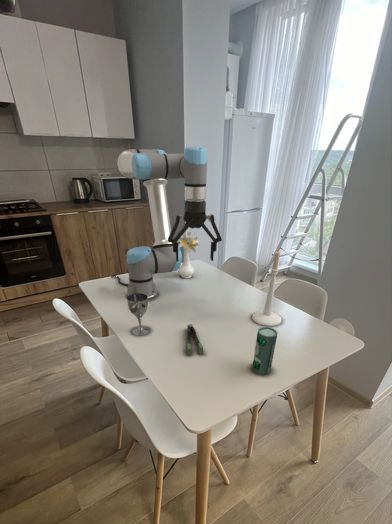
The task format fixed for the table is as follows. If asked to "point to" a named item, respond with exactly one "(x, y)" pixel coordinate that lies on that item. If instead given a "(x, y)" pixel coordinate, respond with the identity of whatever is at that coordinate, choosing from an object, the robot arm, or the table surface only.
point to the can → (264, 350)
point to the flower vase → (187, 253)
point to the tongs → (192, 330)
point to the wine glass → (138, 310)
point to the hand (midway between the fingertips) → (194, 260)
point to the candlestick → (269, 300)
